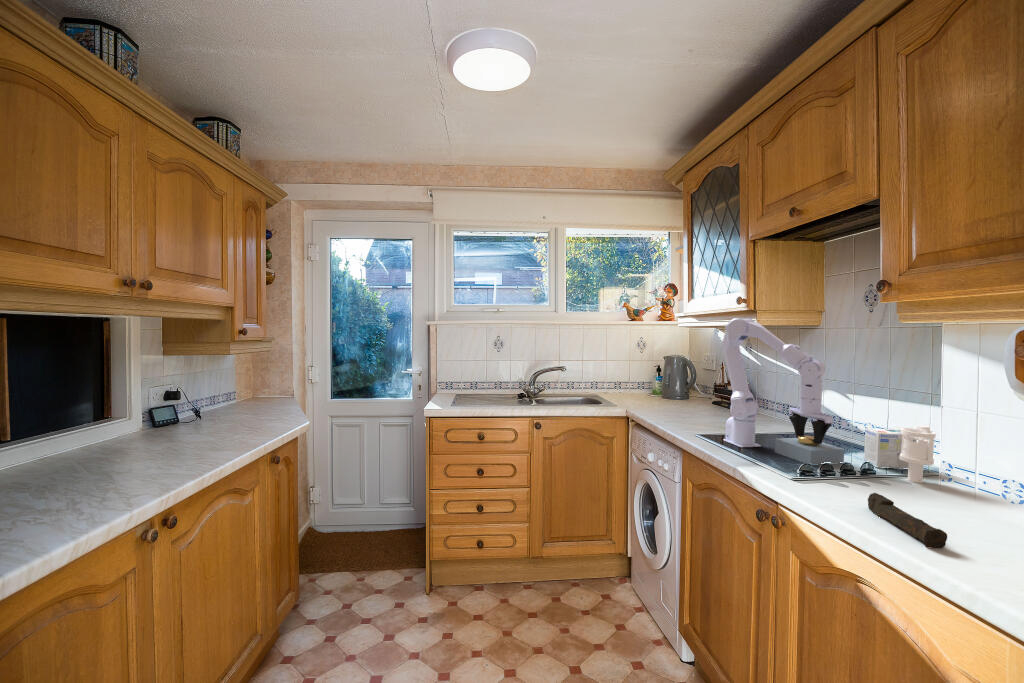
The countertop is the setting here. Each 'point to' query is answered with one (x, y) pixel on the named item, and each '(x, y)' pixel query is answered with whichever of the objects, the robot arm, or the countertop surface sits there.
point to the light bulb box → (884, 448)
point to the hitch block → (809, 451)
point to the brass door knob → (806, 440)
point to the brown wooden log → (906, 521)
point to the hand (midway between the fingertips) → (808, 440)
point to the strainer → (917, 450)
